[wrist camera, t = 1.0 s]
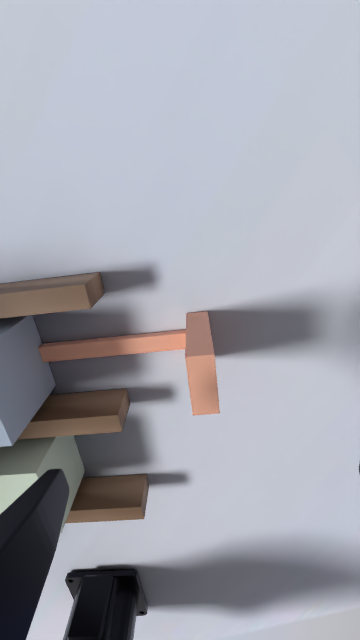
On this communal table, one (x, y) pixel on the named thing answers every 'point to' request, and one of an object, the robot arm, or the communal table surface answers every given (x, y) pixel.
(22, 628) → the robot arm
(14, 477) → the green block
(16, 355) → the wooden bar with block
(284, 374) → the communal table surface
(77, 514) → the lane rack
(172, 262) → the communal table surface
